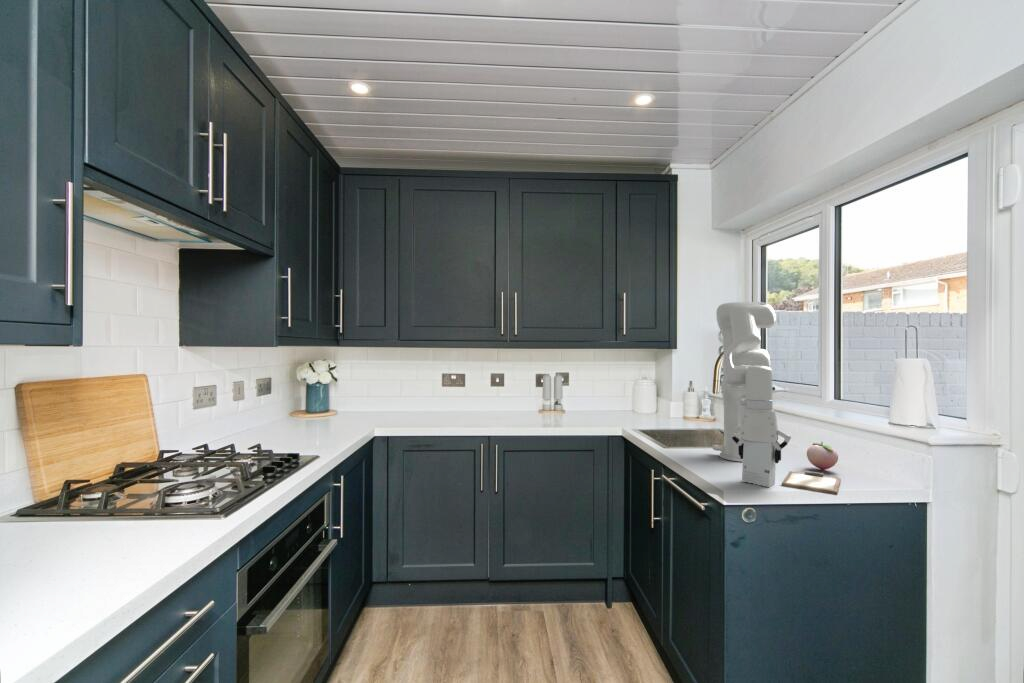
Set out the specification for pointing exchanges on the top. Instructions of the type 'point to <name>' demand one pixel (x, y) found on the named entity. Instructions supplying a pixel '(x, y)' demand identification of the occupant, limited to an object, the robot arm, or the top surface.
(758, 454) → the skincare box
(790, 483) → the clipboard
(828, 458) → the decorative fruit
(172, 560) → the top surface
